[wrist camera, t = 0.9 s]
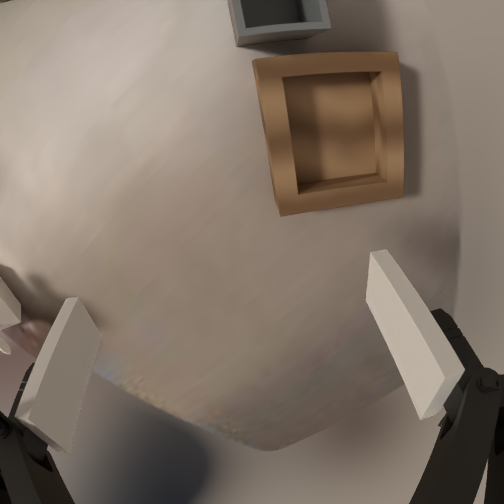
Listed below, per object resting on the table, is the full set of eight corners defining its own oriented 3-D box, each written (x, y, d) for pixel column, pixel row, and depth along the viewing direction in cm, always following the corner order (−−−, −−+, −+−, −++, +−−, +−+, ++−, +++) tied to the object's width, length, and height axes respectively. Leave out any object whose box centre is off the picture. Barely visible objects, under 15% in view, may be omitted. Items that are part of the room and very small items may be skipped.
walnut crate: (252, 61, 27) (255, 59, 23) (379, 53, 26) (397, 52, 23) (275, 201, 35) (280, 216, 31) (387, 184, 34) (403, 197, 31)
